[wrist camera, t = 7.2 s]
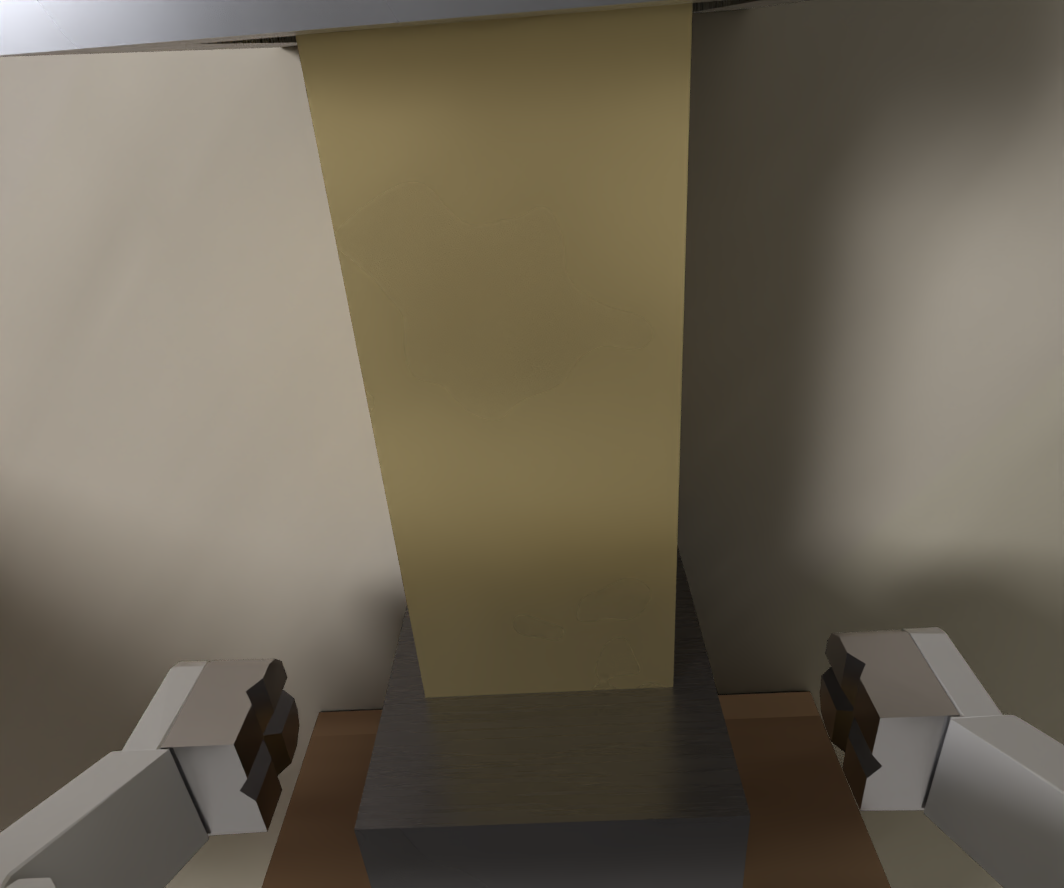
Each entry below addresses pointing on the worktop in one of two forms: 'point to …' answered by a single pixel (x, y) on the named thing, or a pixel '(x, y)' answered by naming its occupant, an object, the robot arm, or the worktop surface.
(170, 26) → the grey rectangular block
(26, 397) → the worktop surface
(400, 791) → the rod
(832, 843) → the socket
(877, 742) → the robot arm
